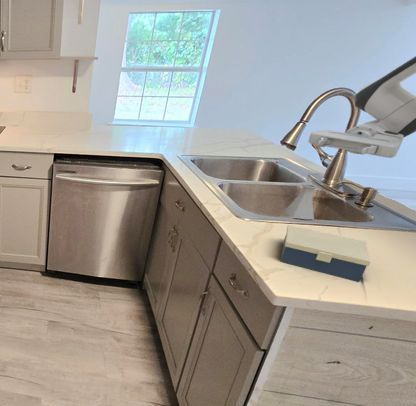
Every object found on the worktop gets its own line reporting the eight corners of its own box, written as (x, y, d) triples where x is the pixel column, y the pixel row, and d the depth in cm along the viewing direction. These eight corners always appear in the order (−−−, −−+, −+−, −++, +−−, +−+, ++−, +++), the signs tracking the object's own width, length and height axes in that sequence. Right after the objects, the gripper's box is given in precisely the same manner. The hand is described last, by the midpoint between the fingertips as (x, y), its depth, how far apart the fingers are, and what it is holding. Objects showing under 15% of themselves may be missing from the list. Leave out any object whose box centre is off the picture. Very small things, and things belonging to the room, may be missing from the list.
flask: (289, 218, 111) (300, 188, 107) (280, 209, 117) (289, 180, 113) (318, 221, 109) (330, 190, 105) (307, 211, 115) (318, 182, 111)
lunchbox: (355, 260, 90) (364, 240, 88) (360, 283, 81) (370, 262, 79) (281, 242, 98) (288, 224, 96) (279, 262, 90) (286, 242, 88)
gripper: (324, 123, 122) (302, 130, 116) (411, 135, 105) (390, 145, 100) (317, 141, 124) (296, 149, 119) (402, 156, 108) (381, 166, 102)
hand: (340, 147), depth 109 cm, fingers open, 8 cm apart
